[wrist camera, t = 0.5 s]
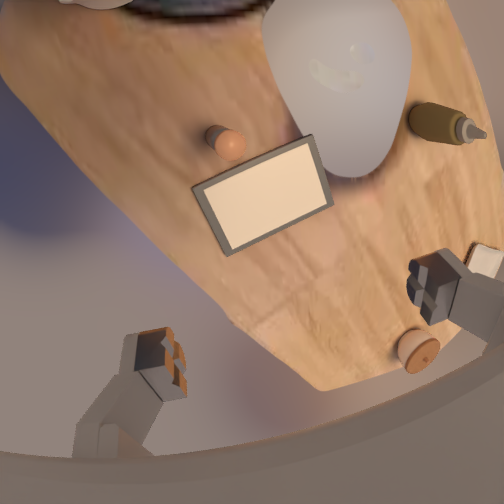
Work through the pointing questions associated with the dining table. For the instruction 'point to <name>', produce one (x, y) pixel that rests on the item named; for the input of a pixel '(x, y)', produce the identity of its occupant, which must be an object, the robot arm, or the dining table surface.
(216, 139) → the marker
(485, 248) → the salad plate
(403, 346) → the lidded bowl
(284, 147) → the writing board
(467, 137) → the squeeze bottle
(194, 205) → the dining table surface
